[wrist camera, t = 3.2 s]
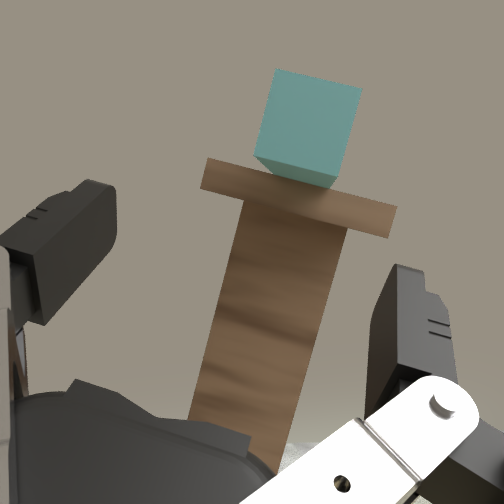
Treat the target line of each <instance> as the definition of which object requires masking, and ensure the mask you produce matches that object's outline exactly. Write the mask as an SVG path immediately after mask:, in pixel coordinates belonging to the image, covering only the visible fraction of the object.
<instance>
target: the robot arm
mask: <svg viewBox="0 0 504 504" xmlns="http://www.w3.org/2000/svg"><path fill="white" fill-rule="evenodd" d="M116 209H117V208H116V190H115V188H114V187H113V186H111V185H107V184H104V183H100V182H96V181H93V180H90V179H87V180H84V181H83V182H82V183H81V184H79V185H78V186H77V187H76V188H75V189H73V190H72V191H71V192H68V191H64V192H61V193H59V194H56V195H53V196H51V197H48V198H47V199H46V200H45V201H43V202H42V203H41V204H39V205H38V206H37V207H36V209H33V210H32V211H31V212H29V213H28V214H27V215H26V217H23V218H22V219H20V220H19V221H18V222H16V223H15V224H14V225H13V226H11V227H10V228H9V229H8V230H6V231H5V232H4V233H3V234H1V235H0V504H413V503H414V502H415V501H416V500H417V499H418V498H419V497H420V496H422V497H423V498H425V499H426V500H428V501H429V502H431V503H432V504H504V433H503V432H501V431H499V430H498V429H496V428H494V427H493V426H491V425H489V424H487V423H486V422H484V421H483V420H482V419H481V418H479V414H478V410H477V407H476V405H475V403H474V402H473V400H472V399H471V397H470V396H469V395H468V394H467V393H466V392H465V391H464V390H463V389H462V388H460V387H459V386H458V382H457V374H456V367H455V359H454V352H453V345H452V340H451V330H450V328H449V326H450V322H449V315H448V310H447V308H446V307H445V305H444V304H443V302H442V300H441V299H440V297H439V295H437V294H433V293H429V292H426V291H425V279H424V272H423V271H420V270H417V269H413V268H410V267H406V266H403V265H399V264H394V266H393V267H392V269H391V271H390V273H389V276H388V278H387V280H386V283H385V285H384V287H383V289H382V292H381V294H380V296H379V298H378V301H377V303H376V305H375V308H374V311H373V314H372V318H371V324H370V336H369V352H368V367H367V383H366V399H365V414H364V421H362V420H361V419H360V418H355V419H353V420H351V421H350V422H348V423H347V424H346V425H344V426H343V427H341V428H340V429H339V430H337V431H336V432H335V433H334V434H332V435H331V436H330V437H328V438H327V439H325V440H324V441H323V442H321V443H320V444H319V445H317V446H316V447H315V448H313V449H312V450H311V451H309V452H308V453H307V454H305V455H304V456H302V457H301V458H300V459H298V460H297V461H296V462H294V463H293V464H292V465H290V466H289V467H288V468H286V469H285V470H284V471H282V472H281V473H280V474H278V475H276V474H275V473H274V472H273V471H272V470H271V469H270V468H269V467H268V465H267V464H266V463H264V462H263V461H262V460H261V459H259V458H258V457H257V456H256V455H254V454H253V453H251V452H250V451H248V448H249V444H250V441H251V437H252V436H249V435H246V434H243V433H240V432H237V431H234V430H231V429H228V428H225V427H221V426H218V425H215V424H212V423H209V422H204V421H191V420H178V419H166V418H158V417H155V416H153V415H151V414H150V413H148V412H147V411H145V410H143V409H142V408H141V407H139V406H137V405H136V404H134V403H133V402H131V401H130V400H128V399H126V398H125V397H124V396H122V395H121V394H119V393H117V392H114V391H111V390H108V389H105V388H102V387H99V386H96V385H93V384H90V383H87V382H84V381H81V380H78V379H75V380H74V381H73V383H72V384H71V386H70V387H69V388H68V390H67V391H66V392H63V391H61V392H60V391H58V392H45V393H38V394H34V395H29V391H28V376H27V360H26V344H25V333H24V328H23V325H24V324H25V323H26V322H27V321H30V322H33V323H37V324H40V325H43V326H45V325H46V324H47V323H48V322H49V320H50V319H51V318H52V317H53V316H54V315H55V313H56V312H57V311H58V310H59V309H60V308H61V307H62V305H63V304H64V303H65V302H66V301H67V300H68V298H69V297H70V296H71V295H72V294H73V293H74V291H76V289H77V288H78V287H79V286H80V285H81V283H83V281H84V280H85V279H86V278H87V277H88V276H89V275H90V273H91V272H92V271H93V270H94V269H95V268H96V266H97V265H98V264H99V263H100V262H101V261H102V260H103V259H104V257H105V256H106V255H107V254H108V253H109V252H110V250H111V249H112V247H113V245H114V242H115V239H116V235H117V210H116Z"/></svg>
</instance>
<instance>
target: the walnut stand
mask: <svg viewBox="0 0 504 504" xmlns="http://www.w3.org/2000/svg"><path fill="white" fill-rule="evenodd" d="M200 189H203V190H207V191H211V192H215V193H218V194H222V195H226V196H230V197H233V198H237V199H241V200H244V202H243V206H242V210H241V214H240V218H239V222H238V226H237V230H236V233H235V237H234V242H233V245H232V249H231V253H230V256H229V261H228V264H227V268H226V273H225V276H224V280H223V284H222V287H221V291H220V295H219V299H218V303H217V307H216V311H215V315H214V318H213V322H212V326H211V330H210V334H209V338H208V342H207V346H206V350H205V353H204V357H203V361H202V365H201V369H200V373H199V377H198V381H197V384H196V388H195V392H194V396H193V400H192V404H191V408H190V412H189V415H188V419H187V420H191V421H204V422H209V423H212V424H215V425H218V426H221V427H225V428H228V429H231V430H234V431H237V432H240V433H243V434H246V435H249V436H252V437H251V441H250V444H249V448H248V451H250V452H251V453H253V454H254V455H256V456H257V457H258V458H259V459H261V460H262V461H263V462H264V463H266V464H267V465H268V467H269V468H270V469H271V470H272V471H273V472H274V473H275V474H276V475H277V473H278V469H279V466H280V462H281V459H282V455H283V452H284V448H285V445H286V441H287V438H288V434H289V431H290V427H291V424H292V420H293V417H294V413H295V410H296V407H297V403H298V400H299V396H300V393H301V389H302V386H303V382H304V379H305V375H306V372H307V368H308V365H309V361H310V358H311V354H312V351H313V347H314V344H315V340H316V337H317V333H318V330H319V326H320V323H321V319H322V316H323V312H324V309H325V306H326V302H327V299H328V295H329V292H330V288H331V284H332V281H333V278H334V274H335V271H336V267H337V264H338V260H339V257H340V253H341V250H342V246H343V243H344V239H345V236H346V232H347V229H348V228H350V229H354V230H358V231H361V232H365V233H369V234H373V235H376V236H380V237H384V238H388V236H389V233H390V229H391V226H392V222H393V219H394V216H395V213H396V209H397V206H394V205H390V204H386V203H382V202H378V201H374V200H370V199H367V198H363V197H359V196H355V195H351V194H347V193H343V192H339V191H335V190H332V189H328V188H324V187H320V186H316V185H312V184H308V183H305V182H301V181H297V180H293V179H289V178H285V177H281V176H277V175H274V174H270V173H266V172H262V171H258V170H254V169H250V168H246V167H242V166H239V165H234V164H231V163H227V162H223V161H219V160H215V159H211V158H208V159H207V163H206V167H205V171H204V175H203V179H202V183H201V187H200Z"/></svg>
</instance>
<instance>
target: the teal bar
mask: <svg viewBox="0 0 504 504" xmlns="http://www.w3.org/2000/svg"><path fill="white" fill-rule="evenodd" d="M361 92H362V88H357V87H353V86H349V85H344V84H340V83H336V82H332V81H327V80H323V79H319V78H314V77H310V76H306V75H302V74H297V73H292V72H289V71H284V70H280V69H275V73H274V77H273V81H272V85H271V89H270V92H269V96H268V100H267V104H266V108H265V112H264V116H263V120H262V123H261V127H260V132H259V135H258V139H257V143H256V147H255V151H254V156H255V157H256V158H257V159H258V160H259V161H260V162H261V163H262V164H263V165H264V166H265V167H267V168H268V169H269V170H270V171H271V172H272V173H273V174H274V175H277V176H281V177H285V178H289V179H293V180H297V181H301V182H305V183H308V184H312V185H316V186H320V187H324V188H328V189H330V187H331V186H332V184H333V183H334V181H335V180H336V179H337V177H338V174H339V170H340V167H341V163H342V160H343V156H344V153H345V149H346V145H347V142H348V138H349V135H350V131H351V128H352V124H353V120H354V117H355V113H356V110H357V106H358V102H359V99H360V95H361Z"/></svg>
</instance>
